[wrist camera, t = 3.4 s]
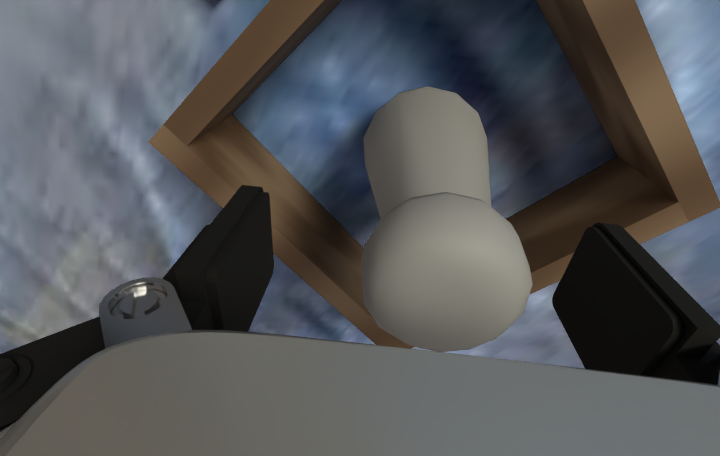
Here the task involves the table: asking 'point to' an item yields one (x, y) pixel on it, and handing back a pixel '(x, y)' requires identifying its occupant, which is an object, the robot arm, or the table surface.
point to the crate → (533, 224)
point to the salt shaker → (438, 228)
